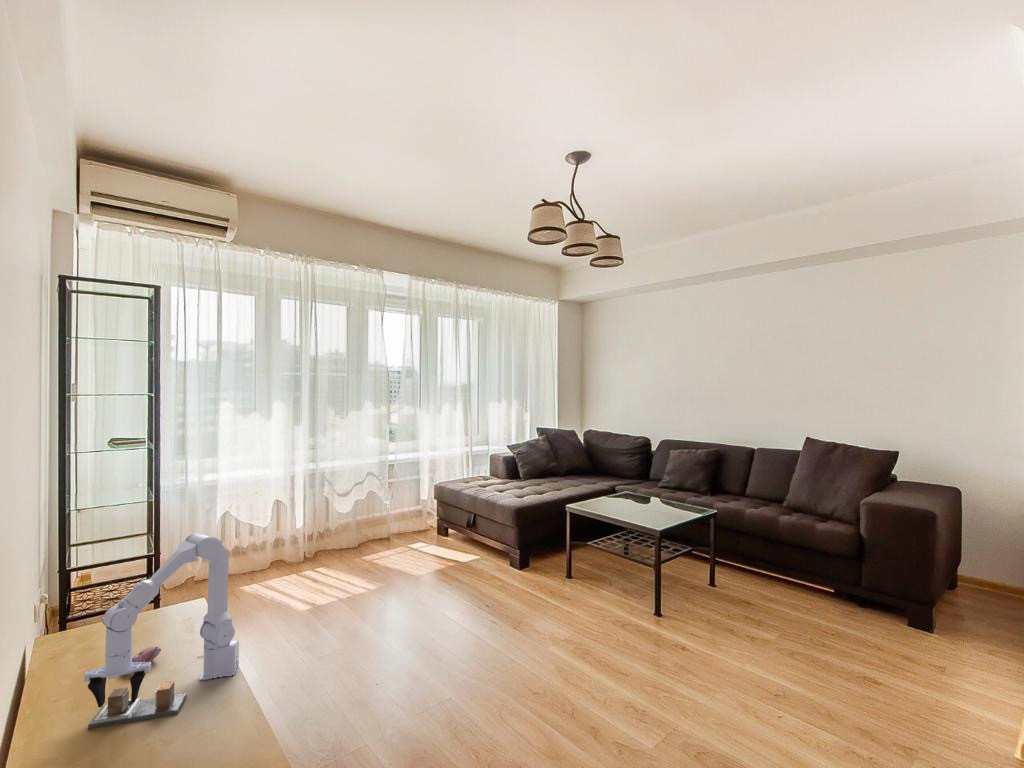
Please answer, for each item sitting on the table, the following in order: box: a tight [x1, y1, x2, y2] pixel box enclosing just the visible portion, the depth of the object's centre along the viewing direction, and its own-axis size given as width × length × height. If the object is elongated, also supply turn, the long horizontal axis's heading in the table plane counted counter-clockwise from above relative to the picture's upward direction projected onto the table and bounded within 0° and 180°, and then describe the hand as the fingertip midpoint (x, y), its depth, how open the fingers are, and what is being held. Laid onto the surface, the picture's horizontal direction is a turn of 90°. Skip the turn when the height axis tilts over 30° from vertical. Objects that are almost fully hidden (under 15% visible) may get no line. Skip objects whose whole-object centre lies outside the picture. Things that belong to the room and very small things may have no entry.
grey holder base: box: [87, 680, 188, 730], centre depth 137 cm, size 20×8×6 cm, turn 108°
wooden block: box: [107, 686, 130, 716], centre depth 136 cm, size 3×4×5 cm
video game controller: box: [132, 645, 162, 663], centre depth 160 cm, size 10×5×7 cm, turn 169°
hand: (118, 702), depth 136 cm, fingers open, 7 cm apart
